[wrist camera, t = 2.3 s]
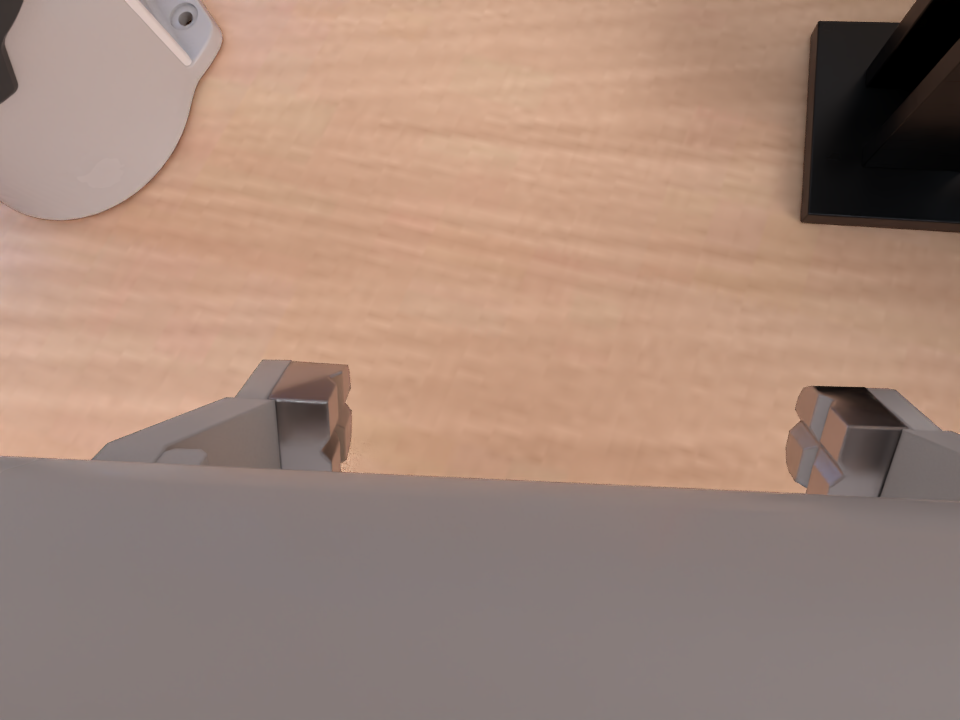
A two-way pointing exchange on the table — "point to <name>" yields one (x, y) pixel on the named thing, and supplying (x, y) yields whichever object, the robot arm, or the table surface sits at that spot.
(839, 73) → the switch bracket
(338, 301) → the table surface
